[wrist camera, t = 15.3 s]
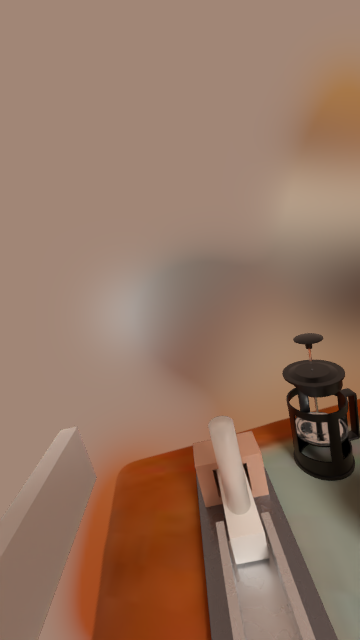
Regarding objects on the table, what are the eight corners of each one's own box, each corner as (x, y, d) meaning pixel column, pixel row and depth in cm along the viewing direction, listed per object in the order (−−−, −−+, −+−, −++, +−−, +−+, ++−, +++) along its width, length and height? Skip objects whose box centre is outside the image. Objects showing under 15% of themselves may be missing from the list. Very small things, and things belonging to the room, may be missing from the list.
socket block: (259, 468, 45) (251, 430, 43) (269, 494, 40) (261, 452, 38) (202, 480, 45) (192, 443, 44) (205, 507, 40) (194, 466, 39)
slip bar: (244, 475, 42) (225, 387, 39) (270, 558, 30) (246, 443, 27) (219, 480, 42) (198, 393, 39) (235, 564, 31) (207, 451, 27)
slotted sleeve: (262, 465, 47) (256, 435, 46) (371, 726, 21) (365, 675, 19) (197, 479, 48) (190, 450, 46) (224, 751, 21) (208, 703, 20)
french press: (308, 488, 41) (288, 355, 36) (281, 447, 50) (262, 336, 45) (379, 469, 41) (370, 334, 36) (340, 432, 50) (328, 319, 45)
